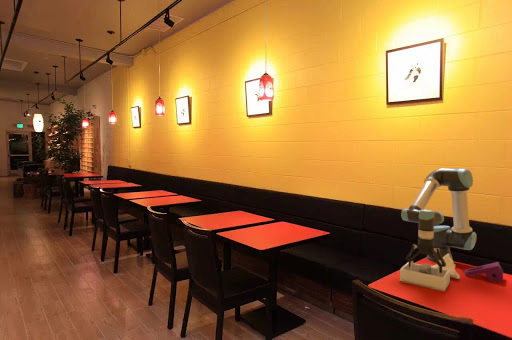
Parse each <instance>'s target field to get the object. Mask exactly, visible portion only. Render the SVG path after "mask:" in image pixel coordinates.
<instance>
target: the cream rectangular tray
mask: <svg viewBox="0 0 512 340" xmlns="http://www.w3.org/2000/svg"><path fill="white" fill-rule="evenodd" d="M421 265H422V264H418V263H414V262H413V271H411V267H409V261H408V262H407V263H406V264H404V265H403V266H402V267H401V268H400V269H399V282H400V281H402V282H401V283H406V284H409V285H415V286H418V287H423V288H427V289H432V290H435V291H439V292H445V291H446V290H447V288H448V286H449V285H450V283H451V281H450V280H451V278H450V270H445V269H442V273H440V277H439V276H437V271H438V268H435V267H431V275H429V274H424V273H420V272H419V267H420V266H421Z"/></svg>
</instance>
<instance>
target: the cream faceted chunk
mask: <svg viewBox="0 0 512 340" xmlns="http://www.w3.org/2000/svg"><path fill="white" fill-rule="evenodd" d="M443 259H444V261H445V263H446V266H445V267H442V269H445V270H450V279H458V280H460V277H461V275H460V274H459V273H458V272H457V271H456V264H455V262H454V260H453V258H452V259H451V257H450V255H449V254H447V255H445V256H444V257H443ZM439 261H440V260H439ZM440 262H441V261H440ZM441 264H442V263H441ZM431 267H435V268H438V264H437V263H436V262H435V264H434V265H431Z"/></svg>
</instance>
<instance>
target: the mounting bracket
mask: <svg viewBox="0 0 512 340" xmlns="http://www.w3.org/2000/svg"><path fill="white" fill-rule="evenodd" d="M464 274H465V276H467V277H469V276H476V275H481V274H484V275H485V277H486V278H487V280H488V281H490V282H493V283H500V282H502V281H503V279H504V269H503V268H502V266H501V264H500V262H499V261H496V262H492V263H486V264H483V265H482V264H481V265H479V266H475V267H471V268H468V269H465V270H464Z"/></svg>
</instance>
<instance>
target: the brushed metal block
mask: <svg viewBox="0 0 512 340" xmlns="http://www.w3.org/2000/svg"><path fill="white" fill-rule="evenodd" d="M420 265H421V266H420V267H419V272H420V273H424V274H429V275H431V266H432V264H430V263H425V262H424V263H422V264H420Z"/></svg>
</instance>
